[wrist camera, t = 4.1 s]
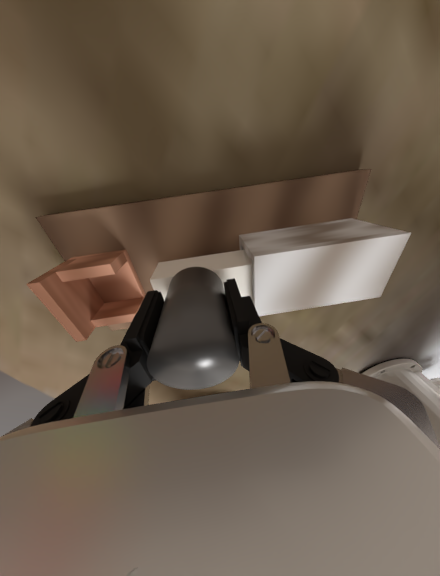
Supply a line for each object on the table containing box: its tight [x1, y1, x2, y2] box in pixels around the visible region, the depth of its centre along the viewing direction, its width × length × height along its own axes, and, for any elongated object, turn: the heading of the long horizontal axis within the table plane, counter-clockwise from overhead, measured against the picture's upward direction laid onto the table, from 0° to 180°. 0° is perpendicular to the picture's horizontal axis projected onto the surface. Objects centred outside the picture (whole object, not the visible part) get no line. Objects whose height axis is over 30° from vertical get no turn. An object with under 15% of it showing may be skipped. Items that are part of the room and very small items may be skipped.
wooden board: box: [27, 169, 411, 342], centre depth 14 cm, size 26×12×6 cm, turn 97°
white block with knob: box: [147, 250, 253, 390], centre depth 11 cm, size 14×4×9 cm, turn 97°
